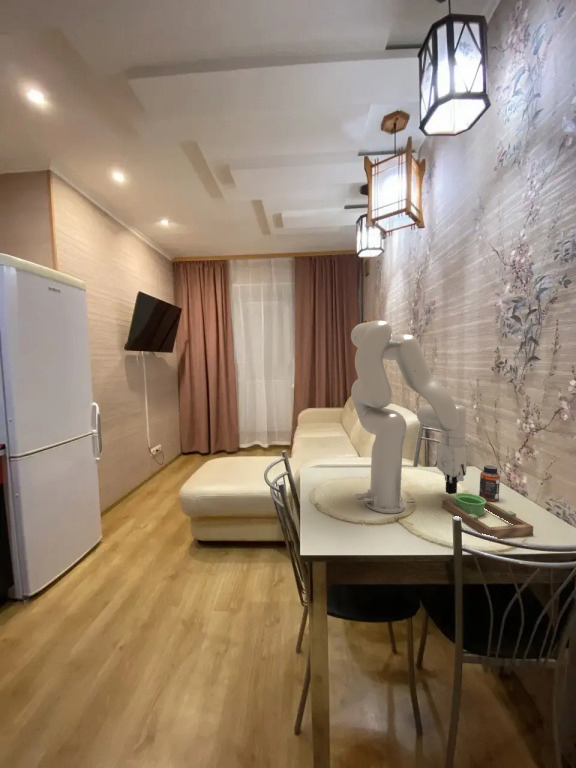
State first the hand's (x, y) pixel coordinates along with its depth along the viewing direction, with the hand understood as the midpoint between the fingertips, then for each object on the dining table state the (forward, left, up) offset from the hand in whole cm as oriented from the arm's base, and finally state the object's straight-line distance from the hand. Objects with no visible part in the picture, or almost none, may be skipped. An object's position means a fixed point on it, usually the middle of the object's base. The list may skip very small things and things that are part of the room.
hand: (451, 492), depth 122 cm
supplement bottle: (+13, -2, -2) cm, 14 cm away
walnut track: (-1, -16, -2) cm, 16 cm away
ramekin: (-1, -10, -2) cm, 10 cm away
